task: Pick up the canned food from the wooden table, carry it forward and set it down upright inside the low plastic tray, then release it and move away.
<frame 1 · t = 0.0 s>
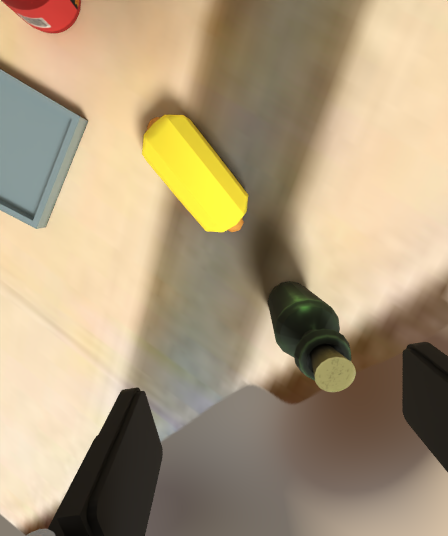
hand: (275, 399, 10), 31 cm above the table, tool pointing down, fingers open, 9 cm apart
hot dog: (199, 178, 38), on the table
potion bottle: (288, 300, 42), on the table
tray: (9, 145, 36), on the table
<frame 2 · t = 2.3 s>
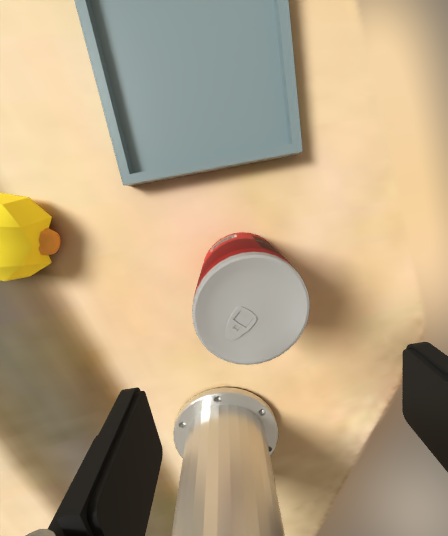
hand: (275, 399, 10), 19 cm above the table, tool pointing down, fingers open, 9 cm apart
canned food: (239, 268, 28), on the table
tray: (195, 74, 23), on the table
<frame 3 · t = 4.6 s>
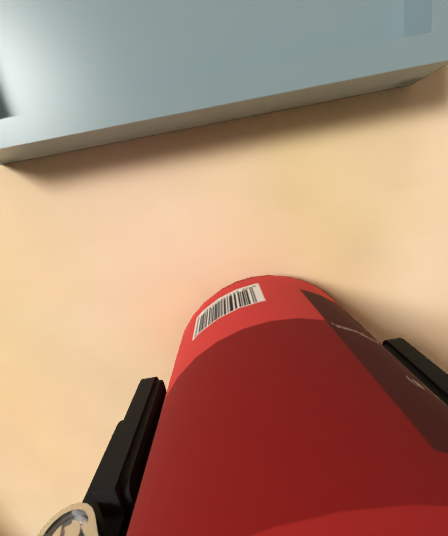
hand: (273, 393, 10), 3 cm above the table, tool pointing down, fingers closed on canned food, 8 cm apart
canned food: (261, 345, 13), on the table, touching gripper
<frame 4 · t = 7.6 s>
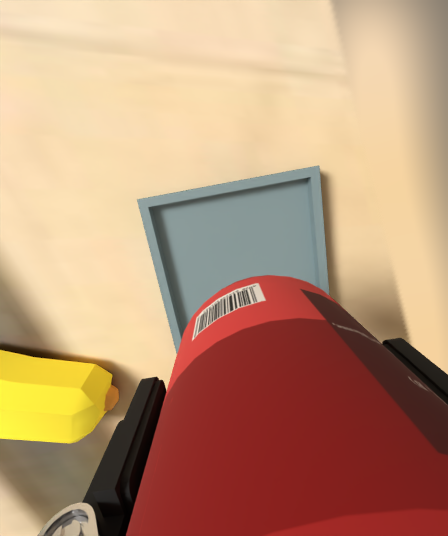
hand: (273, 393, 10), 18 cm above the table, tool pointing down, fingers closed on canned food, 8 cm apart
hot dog: (47, 374, 31), on the table
canned food: (261, 345, 13), point 15 cm above the table, touching gripper
tray: (240, 264, 27), on the table
when the fingers open (5 cm above the table, at t = 11.1 s): canned food drops 1 cm, resting on tray.
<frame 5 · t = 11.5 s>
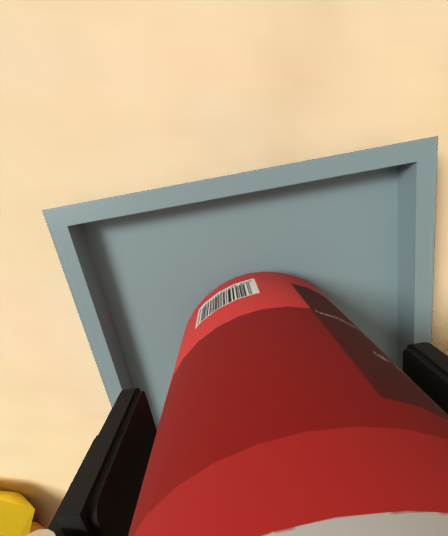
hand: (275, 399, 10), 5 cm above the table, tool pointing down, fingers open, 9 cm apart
canned food: (257, 336, 14), point 1 cm above the table, touching tray
tray: (256, 328, 15), on the table
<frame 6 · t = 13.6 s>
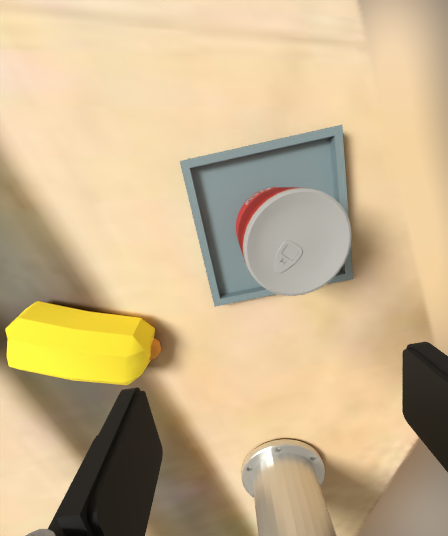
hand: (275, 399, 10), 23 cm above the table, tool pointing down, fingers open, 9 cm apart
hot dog: (94, 330, 34), on the table
canned food: (269, 224, 30), point 1 cm above the table, touching tray
tray: (269, 221, 30), on the table
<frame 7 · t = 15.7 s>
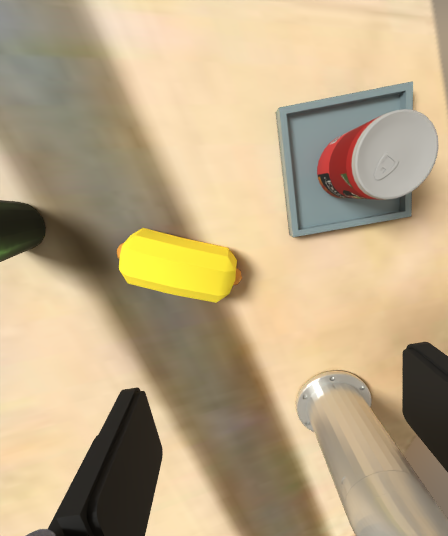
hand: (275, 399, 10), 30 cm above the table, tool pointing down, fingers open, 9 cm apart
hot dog: (182, 261, 40), on the table
potion bottle: (24, 225, 38), on the table
canned food: (343, 167, 36), point 1 cm above the table, touching tray
tray: (341, 166, 36), on the table
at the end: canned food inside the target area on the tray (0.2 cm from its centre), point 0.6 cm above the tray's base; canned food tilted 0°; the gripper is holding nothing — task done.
